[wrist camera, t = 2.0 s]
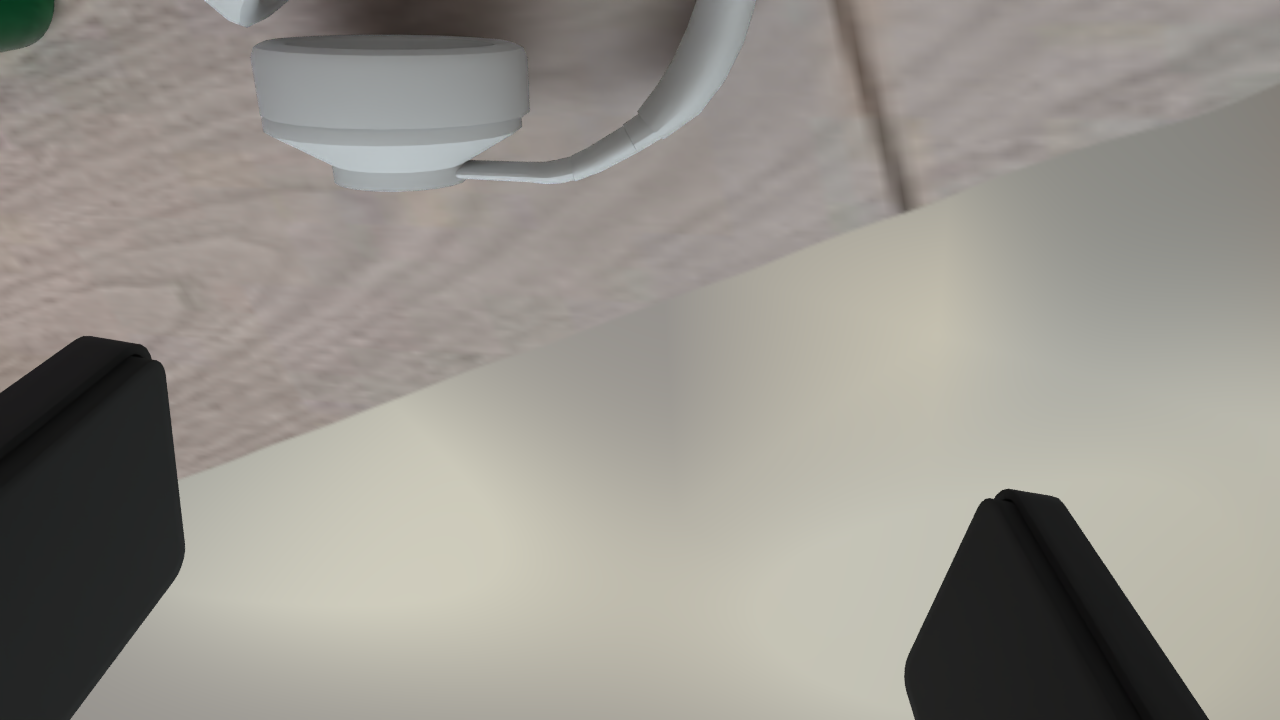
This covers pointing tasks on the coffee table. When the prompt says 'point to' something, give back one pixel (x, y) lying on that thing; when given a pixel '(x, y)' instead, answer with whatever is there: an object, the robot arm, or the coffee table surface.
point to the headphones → (454, 100)
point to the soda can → (23, 22)
